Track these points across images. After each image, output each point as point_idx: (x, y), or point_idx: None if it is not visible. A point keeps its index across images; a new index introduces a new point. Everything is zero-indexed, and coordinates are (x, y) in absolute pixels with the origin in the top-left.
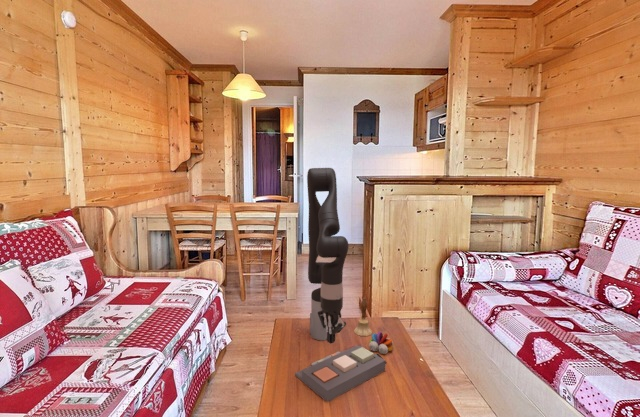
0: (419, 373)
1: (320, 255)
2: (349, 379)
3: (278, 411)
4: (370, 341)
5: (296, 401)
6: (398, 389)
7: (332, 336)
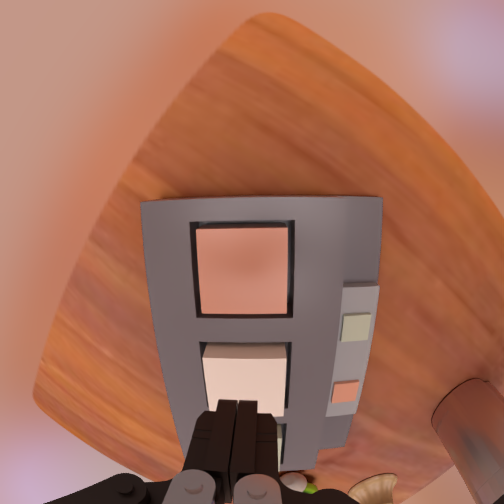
0: (143, 467)
1: None
2: (155, 329)
3: (231, 34)
4: (310, 489)
5: (235, 104)
6: (109, 404)
7: (186, 457)
